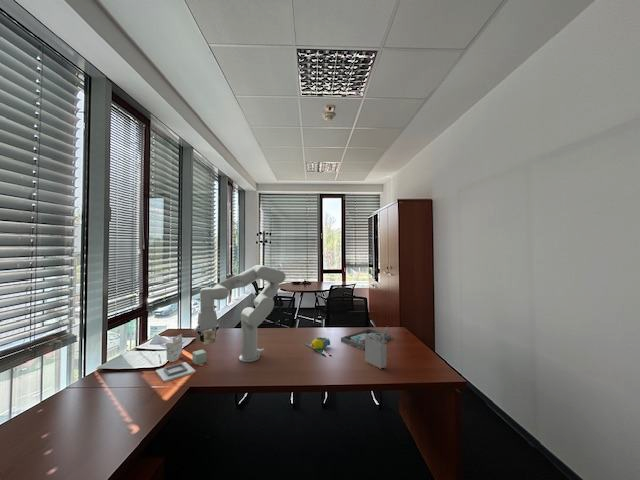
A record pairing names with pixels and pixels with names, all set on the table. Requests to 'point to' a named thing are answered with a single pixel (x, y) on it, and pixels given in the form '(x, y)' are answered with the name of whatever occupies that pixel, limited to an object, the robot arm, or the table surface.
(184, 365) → the baseplate
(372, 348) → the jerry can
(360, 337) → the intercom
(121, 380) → the table surface
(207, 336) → the maple block
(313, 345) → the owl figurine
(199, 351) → the sage block
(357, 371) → the table surface
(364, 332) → the desk tray
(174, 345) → the ink cartridge box
